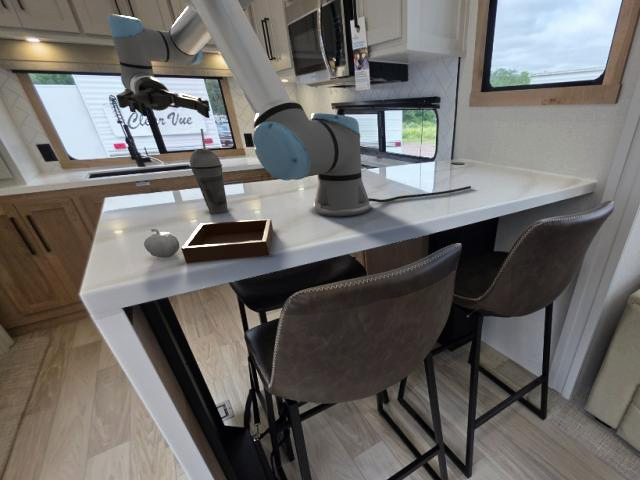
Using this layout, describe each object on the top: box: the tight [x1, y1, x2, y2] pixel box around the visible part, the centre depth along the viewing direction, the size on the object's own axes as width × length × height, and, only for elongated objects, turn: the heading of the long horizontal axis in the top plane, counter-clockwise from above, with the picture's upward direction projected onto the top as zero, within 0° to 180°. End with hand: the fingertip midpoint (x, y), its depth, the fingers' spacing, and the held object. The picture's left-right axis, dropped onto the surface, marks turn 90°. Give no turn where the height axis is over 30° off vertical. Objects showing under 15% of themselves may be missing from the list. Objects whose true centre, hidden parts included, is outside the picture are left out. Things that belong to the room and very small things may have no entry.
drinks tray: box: [180, 218, 274, 264], centre depth 68 cm, size 15×15×3 cm
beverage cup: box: [189, 128, 229, 214], centre depth 85 cm, size 7×7×20 cm
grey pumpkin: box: [143, 228, 180, 259], centre depth 63 cm, size 6×5×5 cm
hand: (177, 111), depth 81 cm, fingers open, 13 cm apart
